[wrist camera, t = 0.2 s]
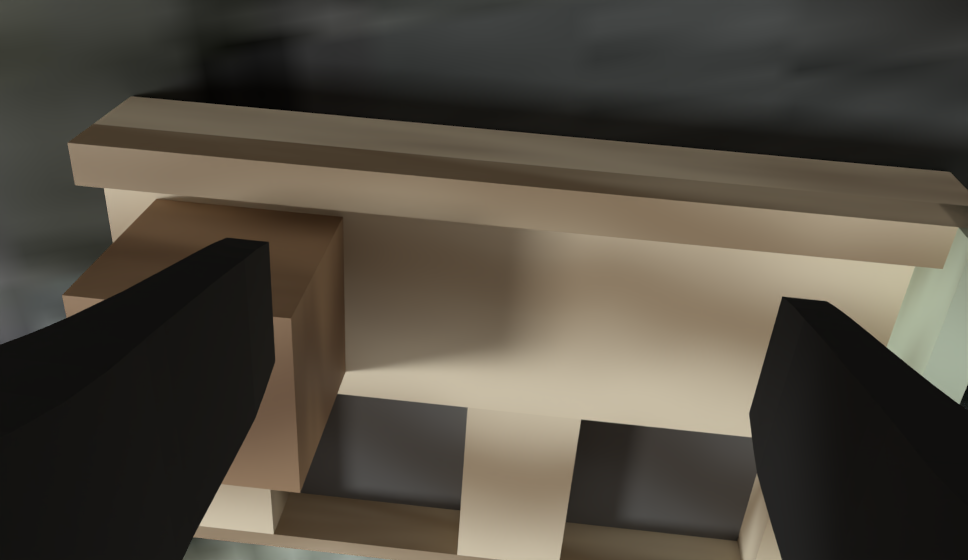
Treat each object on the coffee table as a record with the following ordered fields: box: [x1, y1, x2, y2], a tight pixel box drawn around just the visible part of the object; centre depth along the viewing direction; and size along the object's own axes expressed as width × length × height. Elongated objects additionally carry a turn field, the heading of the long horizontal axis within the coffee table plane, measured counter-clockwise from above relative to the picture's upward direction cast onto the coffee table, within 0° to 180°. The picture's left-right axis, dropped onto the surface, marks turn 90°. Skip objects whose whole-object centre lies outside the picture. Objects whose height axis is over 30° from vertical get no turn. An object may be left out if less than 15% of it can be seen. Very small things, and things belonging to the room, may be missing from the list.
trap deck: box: [68, 96, 968, 560], centre depth 23 cm, size 13×20×4 cm, turn 86°
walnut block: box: [62, 199, 346, 493], centre depth 20 cm, size 4×4×4 cm
